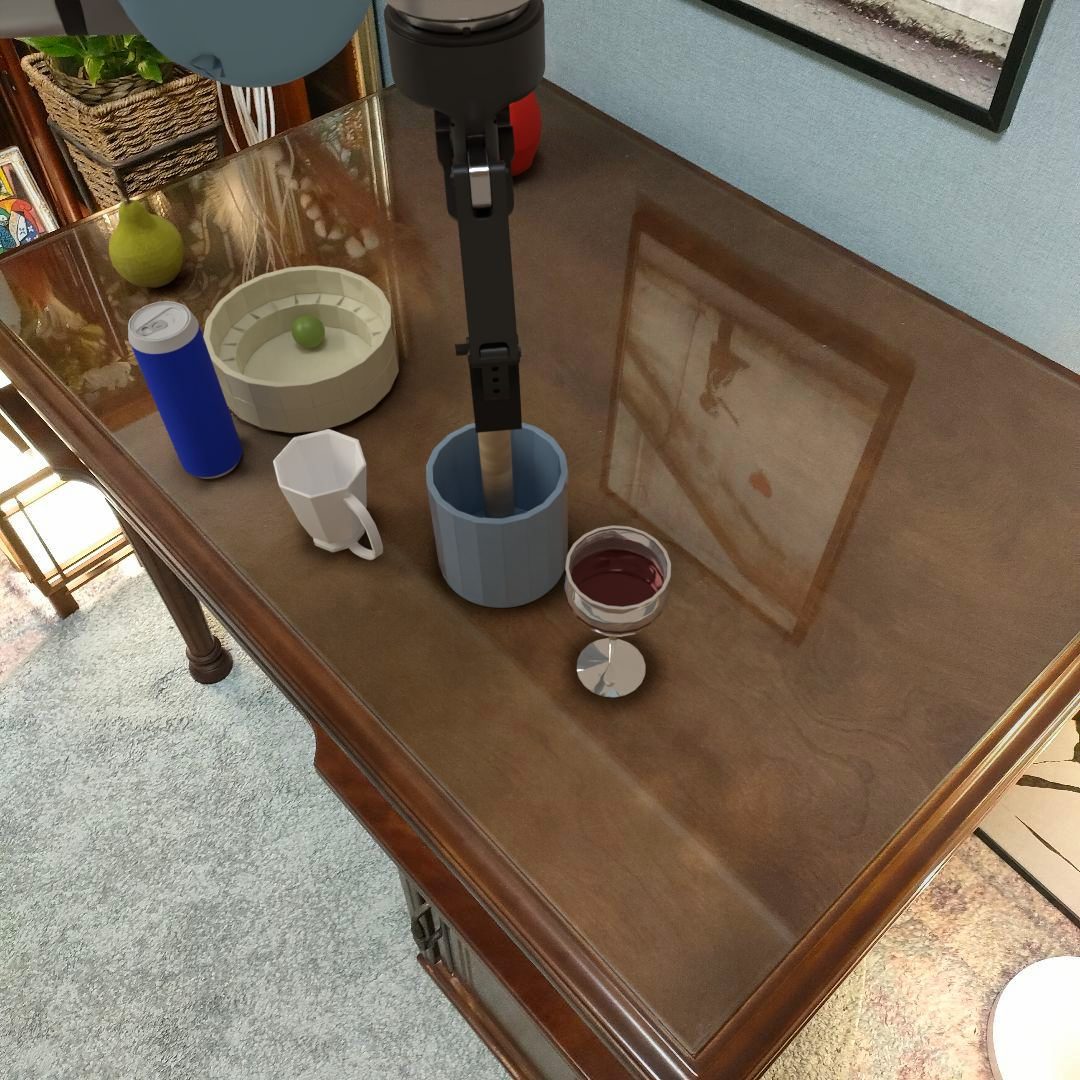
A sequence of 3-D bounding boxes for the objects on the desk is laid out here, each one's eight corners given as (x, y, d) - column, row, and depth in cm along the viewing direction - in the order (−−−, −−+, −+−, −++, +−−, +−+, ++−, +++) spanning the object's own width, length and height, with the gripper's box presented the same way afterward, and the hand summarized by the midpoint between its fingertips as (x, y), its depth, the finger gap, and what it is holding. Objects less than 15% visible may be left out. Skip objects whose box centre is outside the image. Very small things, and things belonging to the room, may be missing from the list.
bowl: (212, 444, 88) (193, 393, 84) (230, 324, 98) (213, 272, 94) (400, 429, 89) (391, 378, 84) (398, 311, 99) (390, 259, 94)
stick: (489, 563, 79) (471, 369, 63) (487, 541, 80) (470, 346, 65) (518, 560, 79) (507, 366, 64) (515, 538, 80) (504, 343, 65)
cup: (348, 484, 85) (331, 414, 79) (421, 554, 80) (409, 486, 74) (277, 528, 82) (253, 459, 76) (348, 603, 77) (329, 536, 71)
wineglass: (674, 690, 72) (690, 591, 63) (585, 721, 71) (588, 624, 61) (635, 616, 76) (645, 513, 67) (550, 644, 75) (548, 542, 65)
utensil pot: (441, 614, 77) (428, 530, 69) (437, 512, 83) (424, 424, 75) (573, 602, 77) (575, 517, 69) (559, 501, 83) (559, 413, 76)
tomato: (551, 141, 118) (550, 64, 111) (526, 199, 111) (524, 120, 104) (462, 131, 120) (456, 55, 113) (432, 188, 112) (424, 110, 105)
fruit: (135, 258, 105) (93, 151, 96) (200, 259, 105) (165, 151, 96) (115, 301, 101) (69, 192, 92) (183, 301, 101) (144, 193, 91)
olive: (294, 356, 94) (287, 330, 92) (296, 335, 96) (289, 309, 94) (327, 353, 95) (321, 328, 92) (328, 332, 96) (322, 307, 94)
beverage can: (221, 429, 89) (170, 289, 78) (256, 459, 87) (208, 319, 75) (171, 460, 87) (110, 321, 75) (205, 492, 85) (148, 353, 73)
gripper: (575, 132, 40) (573, 493, 56) (521, -111, 55) (532, 228, 72) (381, 146, 39) (437, 505, 56) (382, -102, 55) (425, 236, 71)
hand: (491, 350), depth 64 cm, fingers open, 13 cm apart
